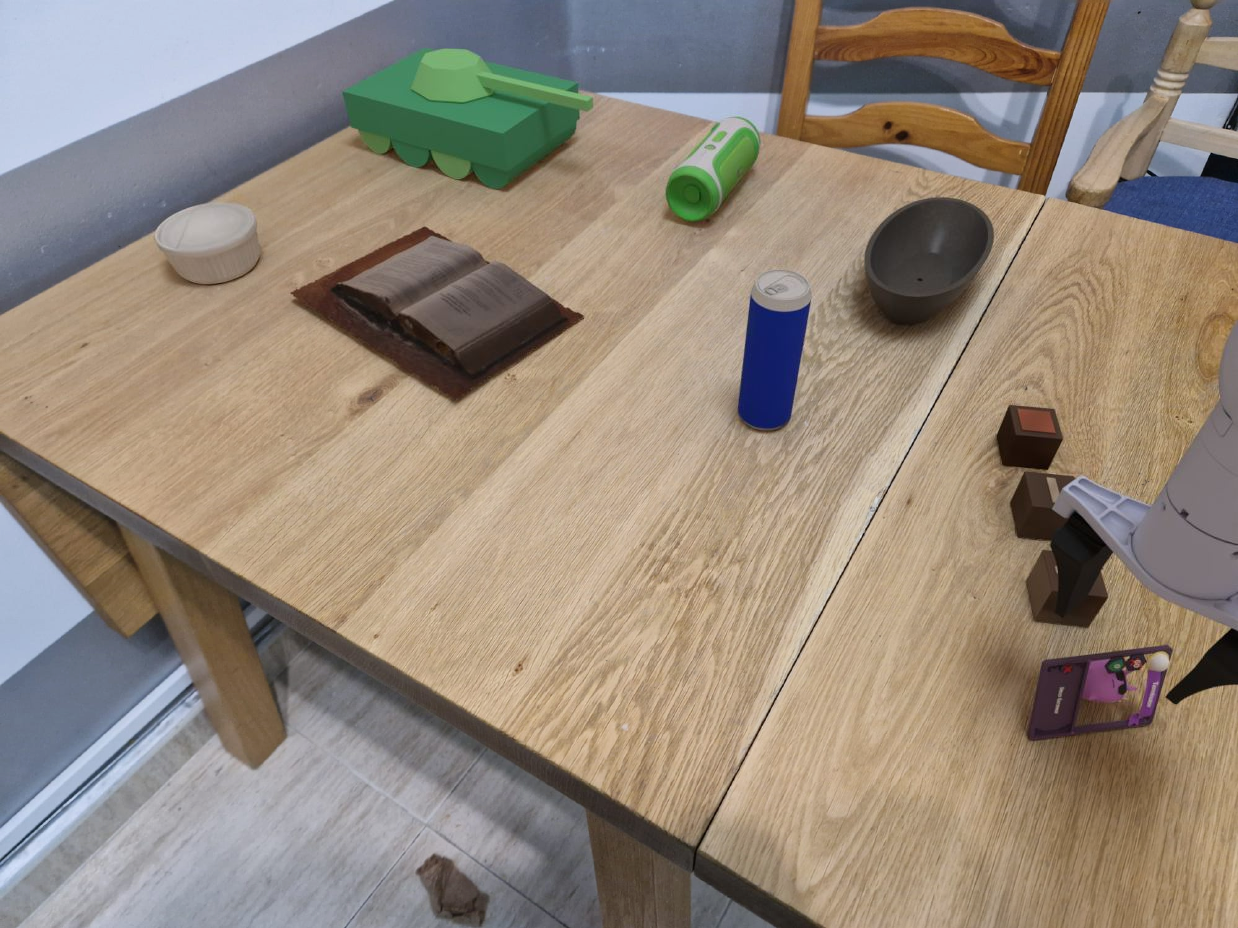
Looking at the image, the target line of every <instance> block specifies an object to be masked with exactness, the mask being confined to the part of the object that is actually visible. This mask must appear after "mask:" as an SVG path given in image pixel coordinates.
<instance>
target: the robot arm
mask: <svg viewBox="0 0 1238 928" xmlns="http://www.w3.org/2000/svg"><path fill="white" fill-rule="evenodd" d="M1219 361H1220V362H1219V366H1218V367H1219V368H1218V380H1217V383H1218V384H1217V385H1218V386H1217V387H1218V395H1219V399H1218V401H1217V402H1216V404H1215V405H1214V407H1213V409H1212V410H1211V412H1210V413H1209V414H1208V416H1207V418H1206V420H1205V421H1204V422H1203V425H1202V426H1201V428H1200V429H1199V430H1198V432H1197V433H1196V435H1195V437H1194V438H1193V440H1192V441H1191V443H1190V444H1189V447H1188V448H1186V451H1185V452H1184V454H1183V456H1182V457H1181V459H1180V460H1179V461H1178V463H1177V464H1176V466H1175V468H1174V469H1173V471H1172V473H1171V474H1170V476H1169V478H1168V479H1167V481H1166V482H1165V484H1164V485H1163V487H1162V489H1161V490H1160V492H1159V493H1158V494H1157V496H1156V498H1155V500H1154V501H1153V503H1152V504H1148V503H1147V502H1146V503H1145V502H1143V501H1140V500H1138V499H1135V498H1133V497H1130V496H1127V495H1125V494H1122V493H1119V492H1117V491H1115V490H1112V489H1110V488H1107V487H1106V486H1105V487H1104V486H1103V485H1100V484H1099V483H1097V482H1095V481H1093V480H1091V479H1089V478H1088V477H1087V476H1085V475H1084V474H1080V475H1079V476H1077V477H1075V480H1073V481H1072V482H1071V483H1069V484H1068V485H1066V486H1065V487H1064V488H1063V489H1062V490H1061V492H1060V494H1059V496H1058V498H1057V500H1056V502H1055V504H1054V506H1053V508H1052V510H1054V511H1055V512H1057V513H1058V514H1060V515H1061V516H1062V517H1064V518H1069V519H1068V521H1067V522H1066V523H1065V524H1064V526H1063V527H1061V528H1060V529H1059V530H1057V531H1056V532H1055V533H1054V535H1053V537H1052V540H1051V541H1050V544H1049V548H1050V550H1052V552H1053V554H1054V557H1055V560H1056V564H1057V570H1058V595H1057V602H1056V607H1055V613H1056V614H1058V615H1059V616H1060V617H1061V618H1064V617H1066V616H1067V615H1068V614H1069V613H1070V612H1072V611H1073V610H1074V609H1075V608H1077V607H1078V606H1079V605H1080V604H1081V603H1082V602H1083V601H1084V599H1085V598H1086V597H1087V595H1088V594H1089V592H1090V591H1091V589H1092V587H1093V585H1094V583H1095V581H1096V579H1097V577H1098V576H1099V574H1100V572H1101V573H1102V570H1103V569H1104V567H1105V566H1106V564H1107V562H1108V561H1109V559H1110V558H1111V557H1112V556H1113V554H1114V555H1115V556H1116V557H1117V558H1118V559H1119V560H1120V562H1121V563H1122V564H1123V565H1124V566H1125V567H1126V568H1127V570H1128V572H1130V573H1131V574H1132V576H1133V577H1134V578H1135V579H1136V580H1137V581H1138V582H1139V583H1140V585H1142V586H1143V587H1144V588H1146V589H1147V590H1148V591H1150V592H1151V593H1153V594H1154V595H1156V596H1157V597H1158V598H1161V599H1163V600H1165V601H1166V602H1169V603H1171V604H1173V605H1175V606H1178V607H1179V608H1183V609H1185V610H1188V611H1190V612H1193V613H1194V614H1197V615H1200V616H1202V617H1204V618H1205V619H1209V620H1212V621H1214V622H1215V623H1218V624H1221V625H1223V626H1226V627H1228V628H1229V629H1228V631H1227V632H1225V633H1224V634H1223V635H1222V636H1221V637H1220V638H1219V639H1218V640H1217V641H1216V642H1215V643H1213V644H1212V646H1210V648H1208V649H1207V650H1206V652H1205V653H1204V654H1203V655H1202V657H1201V658H1200V659H1199V661H1198V662H1197V663H1196V665H1195V666H1194V667H1193V668H1192V669H1191V670H1190V671H1189V672H1188V673H1187V674H1186V675H1185V676H1184V677H1183V678H1182V679H1181V680H1179V682H1177V683H1176V685H1175V686H1174V687H1172V688H1171V689H1170V690H1169V691H1168V693H1167V694H1166V695H1165V697H1164V698H1165V699H1166V700H1168V701H1169V702H1170V703H1172V704H1173V705H1175V706H1177V705H1179V703H1181V702H1182V701H1183V700H1185V699H1187V698H1189V697H1191V696H1193V695H1196V694H1198V693H1200V692H1204V691H1206V690H1209V689H1214V688H1219V687H1224V686H1238V318H1237V319H1236V321H1235V322H1234V324H1233V326H1232V327H1231V329H1230V332H1229V333H1228V335H1227V338H1226V341H1225V343H1224V346H1223V349H1222V353H1221V357H1220V360H1219Z"/></svg>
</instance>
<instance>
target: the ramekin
mask: <svg viewBox="0 0 1238 928" xmlns="http://www.w3.org/2000/svg"><path fill="white" fill-rule="evenodd" d="M257 228H258V220H257V218H256V215H255V213H254V212H253V211H252V210H251V209H250V208H249V207H247V206H244V205H242V204H239V203H233V202H227V201H226V202H225V201H220V202H219V201H217V202H208V203H201V204H197V205H193V206H190V207H187V208H185V209H182V210H179V211H177V212H175V213H173V214H171V215H169V216H168V217H167V218H166V219H165V220H163V221H162V222H161V223H160V224H159V225H158V226H157V228H156V230H155V231H154V236H153V238H154V239H153V240H154V242H155V244H156V246H157V248H158V250H160V252H162V253H163V254H164V256H165V257H166V259H167V260H168V262H169V263H170V264H171V265H172V267H173V268H174V270H175V271H176V272H177V274H178V275H179V276H180V277H182V278H183V279H185V280H187V281H188V282H191V283H194V284H198V285H215V284H222V283H226V282H229V281H234V280H235V279H237V278H240V277H242V276H244V275H246V274H247V273H249V272H250V271H251V270H252V269H253V268H254V267H255V266H256V264H257V263H258V260H259V259H260V256H261V248H260V241H259V235H258V229H257Z"/></svg>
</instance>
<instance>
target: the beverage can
mask: <svg viewBox="0 0 1238 928" xmlns="http://www.w3.org/2000/svg"><path fill="white" fill-rule="evenodd" d="M812 299H813V294H812V289H811V284H810V282H809V280H808V279H807V278H806V277H805V276H804V275H802V274H800V273H799V272H796V271H793V270H789V269H781V268H780V269H779V268H778V269H777V268H776V269H771V270H770V269H769V270H766V271H763V272H762V273H760V274H759V275H758V276H757V277H756V279H755V281H754V283H753V284H752V287H751V290H750V296H749V304H748V305H749V306H748V314H747V321H746V330H745V340H744V349H743V358H742V367H741V375H740V385H739V392H738V393H739V394H738V402H737V413H738V416H739V417H740V419H741V420H742V421H743V422H744V423H745V424H746V425H747V426H749V427H751V428H752V429H755V430H758V431H774V430H777V429H779V428H781V427H783V426H784V425H786V424H787V423H788V422H789V420H790V419H791V417H792V414H793V407H794V402H795V401H794V400H795V395H796V389H797V386H798V385H797V384H798V380H799V379H798V378H799V373H800V368H801V367H800V366H801V361H802V355H803V350H804V343H805V338H806V333H807V327H808V321H809V315H810V311H811V304H812Z"/></svg>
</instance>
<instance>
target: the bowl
mask: <svg viewBox="0 0 1238 928" xmlns="http://www.w3.org/2000/svg"><path fill="white" fill-rule="evenodd" d="M994 241H995V231H994V226H993V222H992V220H991V219H990V217H989V216H988V215H987V214H986V212H984V211H983V210H982V209H981V208H980V207H978V206H977V205H975V204H973V203H971V202H969V201H966V200H963V199H959V198H954V197H946V196H938V197H928V198H927V197H926V198H922V199H918V200H916V201H912V202H910V203H908V204H905V205H904V206H902V207H900V208H897V209H896V210H895V211H894V212H892V213H891V214H889V215H888V216H887V217H886V218H884V219H883V221H881V223H880V224H879V225H878V226H877V227H876V228H875V230H874V232H872V234H871V236H870V237H869V239H868V242H867V245H866V247H865V251H864V260H863V261H864V272H865V279H866V284H867V288H868V292H869V294H870V297H871V299H872V302H873V304H874V305H875V307H876V308H877V310H878V311H879V312H880V313H881V315H882V316H883V317H884V318H885V319H886V320H887V321H889V322H891V323H892V324H896V325H900V326H915V325H918V324H921V323H923V322H926V321H928V320H930V319H932V318H934V317H935V316H936V315H938V314H940V313H941V312H943V311H944V310H945V309H947V308H948V307H949V306H950V305H951V304H952V303H954V301H956V300H957V299H958V298H959V297H960V296H961V295H962V294H963V293H964V292H965V290H966V289H967V288H968V287H969V286H970V284H971V283H972V282H973V281H974V279H975V278H976V276H977V275H978V274H979V273H980V271H981V270H982V268H983V266H984V265H985V263H986V261H987V260H988V259H989V256H990V254H991V251H992V250H993V246H994Z"/></svg>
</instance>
